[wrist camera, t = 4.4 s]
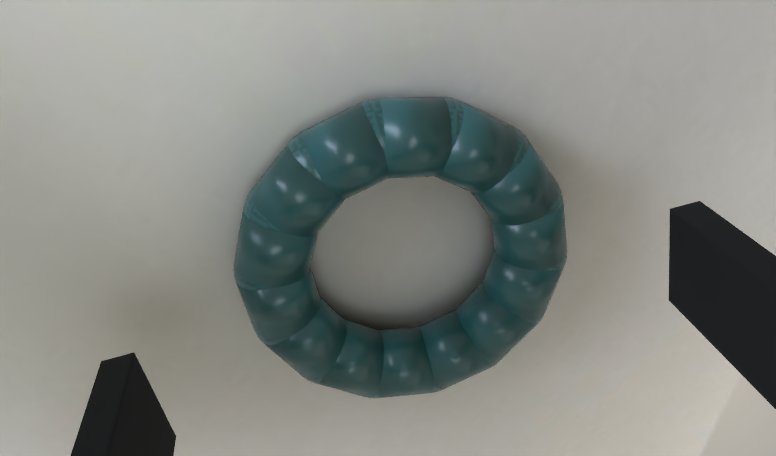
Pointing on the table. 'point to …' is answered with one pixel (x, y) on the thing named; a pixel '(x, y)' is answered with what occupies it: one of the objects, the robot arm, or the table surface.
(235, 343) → the table surface
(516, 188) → the teal beaded ring
